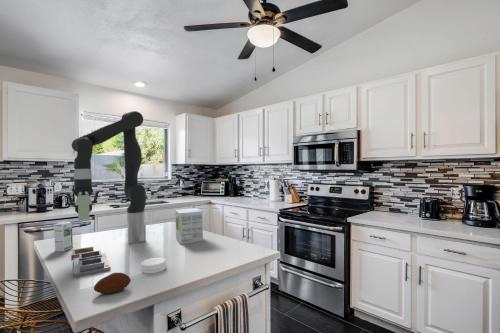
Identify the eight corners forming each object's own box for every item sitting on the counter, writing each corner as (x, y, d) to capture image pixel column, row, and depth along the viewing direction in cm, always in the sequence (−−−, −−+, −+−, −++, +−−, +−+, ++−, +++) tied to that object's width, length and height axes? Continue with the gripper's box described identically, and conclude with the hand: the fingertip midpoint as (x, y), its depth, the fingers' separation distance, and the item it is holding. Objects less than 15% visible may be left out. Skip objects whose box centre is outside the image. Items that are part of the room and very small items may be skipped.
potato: (93, 292, 94) (92, 274, 94) (129, 284, 100) (128, 266, 100) (94, 299, 88) (94, 280, 88) (132, 290, 95) (131, 272, 95)
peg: (89, 217, 137) (88, 194, 137) (89, 219, 133) (88, 194, 133) (78, 218, 135) (77, 194, 134) (78, 220, 131) (77, 195, 131)
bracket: (93, 250, 141) (93, 246, 141) (94, 255, 133) (94, 251, 133) (72, 253, 136) (72, 249, 136) (72, 259, 128) (72, 255, 128)
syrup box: (63, 251, 140) (63, 223, 140) (54, 251, 141) (53, 223, 141) (73, 248, 145) (72, 221, 145) (63, 247, 147) (63, 221, 146)
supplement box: (175, 239, 160) (174, 209, 160) (197, 235, 166) (196, 207, 166) (180, 244, 148) (179, 213, 148) (203, 241, 154) (202, 210, 154)
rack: (105, 255, 132) (105, 248, 132) (110, 270, 113) (110, 262, 113) (73, 261, 125) (73, 254, 125) (73, 277, 106) (73, 269, 106)
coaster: (160, 263, 121) (160, 255, 121) (170, 269, 114) (169, 261, 114) (137, 269, 115) (137, 261, 115) (146, 276, 107) (146, 267, 107)
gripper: (98, 177, 141) (99, 209, 141) (65, 178, 133) (66, 212, 133) (99, 177, 134) (100, 211, 135) (65, 179, 127) (66, 215, 127)
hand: (83, 212), depth 134 cm, fingers closed on peg, 4 cm apart
